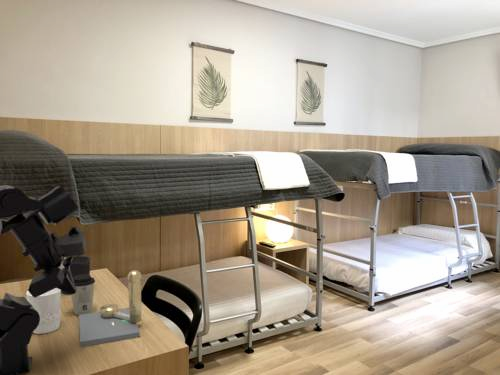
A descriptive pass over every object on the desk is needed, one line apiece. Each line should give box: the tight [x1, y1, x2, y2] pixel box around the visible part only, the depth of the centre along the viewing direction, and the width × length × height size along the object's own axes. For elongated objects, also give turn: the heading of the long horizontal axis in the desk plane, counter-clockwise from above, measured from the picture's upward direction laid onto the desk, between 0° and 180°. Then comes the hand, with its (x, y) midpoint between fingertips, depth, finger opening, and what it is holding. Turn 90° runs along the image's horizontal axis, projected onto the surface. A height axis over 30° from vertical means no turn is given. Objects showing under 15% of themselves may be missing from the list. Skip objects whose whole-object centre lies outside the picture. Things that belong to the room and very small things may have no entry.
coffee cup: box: [70, 274, 96, 316], centre depth 118 cm, size 7×7×10 cm
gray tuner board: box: [78, 307, 141, 348], centre depth 108 cm, size 17×14×1 cm
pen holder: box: [61, 255, 91, 295], centre depth 136 cm, size 9×9×10 cm
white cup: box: [25, 288, 62, 335], centre depth 107 cm, size 8×8×10 cm
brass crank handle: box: [100, 269, 143, 324], centre depth 110 cm, size 13×4×13 cm, turn 63°
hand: (74, 292), depth 95 cm, fingers closed
